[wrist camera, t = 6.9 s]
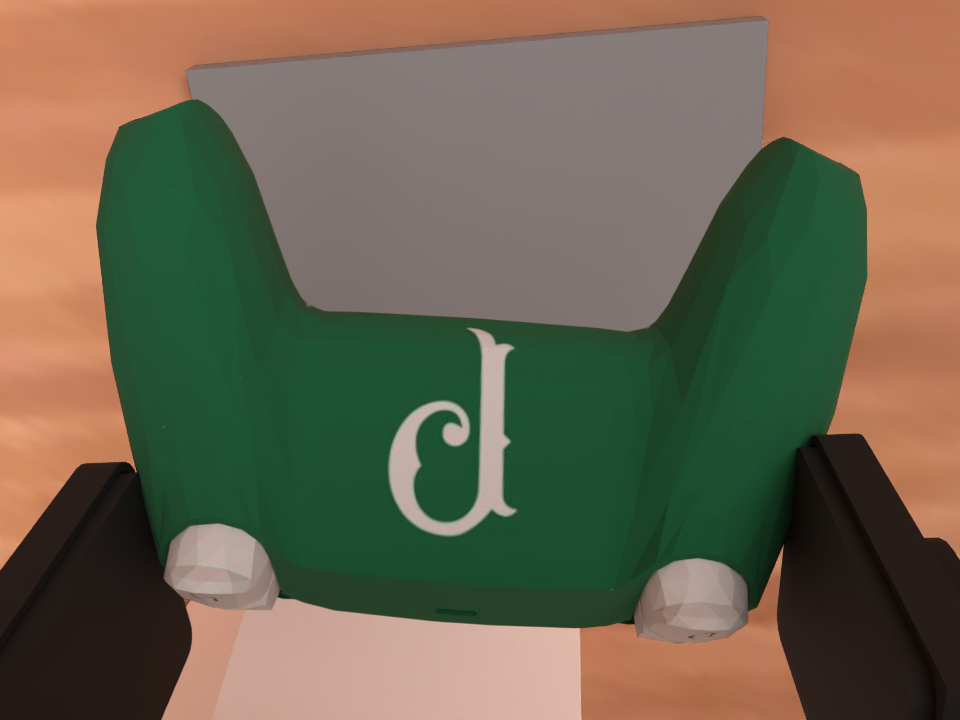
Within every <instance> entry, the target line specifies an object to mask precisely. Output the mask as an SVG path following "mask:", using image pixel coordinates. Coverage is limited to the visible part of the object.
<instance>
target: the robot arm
mask: <svg viewBox="0 0 960 720" xmlns="http://www.w3.org/2000/svg"><path fill="white" fill-rule="evenodd" d="M164 573H165V567H162V565H161V563H160V561H159V558H158V554H157V550H156V546H155V542H154V538H153V534H152V530H151V526H150V523H149V519H148V515H147V511H146V507H145V503H144V498H143V493H142V487H141V482H140V476H139V473H138V472H137V473H135V470H134V468H133V467H132V466H131V465H130V464H129V463H127V462H110V463H86V464H82V465H80V466H79V467H78V468H77V469H76V470H75V471H74V473H73V474H72V475H71V477H70V478H69V479H68V481H67V482H66V483H65V485H64V486H63V487H62V489H61V490H60V491H59V493H58V494H57V495H56V497H55V498H54V499H53V501H52V502H51V503H50V505H49V506H48V507H47V509H46V510H45V511H44V513H43V514H42V515H41V517H40V518H39V519H38V521H37V522H36V524H35V525H34V526H33V528H32V529H31V530H30V532H29V533H28V534H27V536H26V537H25V538H24V540H23V541H22V542H21V544H20V545H19V546H18V548H17V549H16V550H15V552H14V553H13V554H12V556H11V557H10V558H9V560H8V561H7V562H6V564H5V565H4V566H3V568H2V569H1V570H0V720H161V719H162V717H163V715H164V712H165V710H166V708H167V705H168V703H169V701H170V698H171V696H172V694H173V691H174V689H175V687H176V684H177V682H178V680H179V677H180V675H181V673H182V670H183V668H184V666H185V663H186V661H187V659H188V656H189V653H190V650H191V645H192V627H191V622H190V619H189V616H188V612H187V609H186V606H185V602H184V599H183V598H182V597H181V596H180V595H179V594H178V593H177V592H176V591H175V590H174V589H173V588H172V587H171V586H170V585H169V584H168V583H167V582H166V581H165V580H164ZM777 623H778V631H779V636H780V640H781V643H782V646H783V649H784V652H785V655H786V658H787V661H788V665H789V668H790V671H791V674H792V677H793V680H794V683H795V686H796V689H797V692H798V695H799V698H800V701H801V704H802V707H803V710H804V713H805V716H806V719H807V720H960V560H959V558H958V557H957V555H956V553H955V552H954V550H953V549H952V548H951V547H950V545H949V544H948V543H947V542H946V541H944V540H942V539H940V538H924V537H923V535H922V534H921V532H920V530H919V529H918V527H917V525H916V524H915V522H914V520H913V519H912V517H911V515H910V514H909V512H908V510H907V509H906V507H905V505H904V504H903V502H902V500H901V499H900V497H899V495H898V493H897V492H896V490H895V488H894V487H893V485H892V483H891V482H890V480H889V478H888V477H887V475H886V473H885V472H884V470H883V468H882V467H881V465H880V463H879V462H878V460H877V458H876V457H875V455H874V453H873V451H872V450H871V448H870V446H869V445H868V443H867V441H866V440H865V438H864V437H863V436H862V435H861V434H833V435H813V436H812V440H811V447H799V448H797V462H796V473H795V485H794V497H793V512H792V517H791V522H790V526H789V531H788V535H787V537H786V540H785V542H784V548H783V558H782V568H781V578H780V588H779V598H778V607H777Z"/></svg>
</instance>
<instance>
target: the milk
mask: <svg viewBox="0 0 960 720" xmlns="http://www.w3.org/2000/svg"><path fill="white" fill-rule="evenodd" d="M186 609H187V612H188V616H189V619H190V622H191V627H192V645H191V650H190V653H189V656H188V659H187V661H186V663H185V666H184V668H183V670H182V673H181V675H180V677H179V680H178V682H177V684H176V687H175V689H174V691H173V694H172V696H171V698H170V701H169V703H168V705H167V708H166V710H165V712H164V715H163V717H162V719H161V720H581V672H580V628H551V627H523V626H495V625H479V624H464V623H447V622H435V621H425V620H416V619H407V618H397V617H388V616H379V615H370V614H361V613H352V612H343V611H335V610H331V609H327V608H323V607H319V606H315V605H311V604H307V603H303V602H301V601H298V600H296V599H282V598H278V597H277V599H276V601H275V604H274V606H273V608H272V610H224V609H220V608H213V607H209V606H206V605H203V604H200V603H197V602H194V601H191V600H190V602H189V603H188V605H187V606H186Z"/></svg>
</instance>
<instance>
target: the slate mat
mask: <svg viewBox="0 0 960 720" xmlns="http://www.w3.org/2000/svg"><path fill="white" fill-rule="evenodd" d="M768 23H769V20H767V19H765V18H764V17H762V16H759V17H747V18H736V19H724V20H713V21H701V22H690V23H678V24H667V25H655V26H643V27H632V28H620V29H609V30H597V31H586V32H574V33H563V34H551V35H540V36H528V37H517V38H505V39H494V40H482V41H471V42H459V43H448V44H436V45H425V46H413V47H402V48H390V49H378V50H367V51H355V52H344V53H332V54H321V55H309V56H298V57H286V58H275V59H263V60H252V61H240V62H229V63H217V64H206V65H194V66H193V67H191V68H189V69H188V70H186V75H187V80H188V84H189V88H190V92H191V97H192V100H195V99H198V100H200V101H202V102H204V103H206V104H207V105H209V106H210V107H211V108H212V109H214V110H215V111H216V112H217V113H218V114H219V115H220V116H221V117H222V119H223V120H224V121H225V123H226V124H227V126H228V127H229V129H230V130H231V131H232V133H233V135H234V137H235V139H236V141H237V143H238V145H239V147H240V148H241V150H242V152H243V154H244V156H245V158H246V160H247V162H248V163H249V165H250V167H251V169H252V171H253V173H254V176H255V179H256V181H257V184H258V187H259V190H260V193H261V196H262V198H263V201H264V204H265V207H266V210H267V213H268V216H269V218H270V221H271V224H272V227H273V230H274V233H275V236H276V238H277V241H278V244H279V247H280V249H281V252H282V255H283V258H284V260H285V263H286V266H287V269H288V271H289V274H290V277H291V279H292V281H293V283H294V285H295V287H296V288H297V290H298V292H299V294H300V296H301V298H303V299H304V300H305V301H306V302H307V303H308V304H310V305H312V306H314V307H316V308H318V309H321V310H324V311H343V312H372V313H391V314H409V315H427V316H445V317H464V318H480V319H493V320H505V321H518V322H530V323H543V324H555V325H568V326H580V327H593V328H603V329H610V330H618V331H626V332H629V331H634V330H639V329H643V328H646V327H648V326H650V325H651V324H653V323H654V322H655V321H656V320H657V319H658V317H659V316H660V315H661V313H662V312H663V311H664V309H665V308H666V307H667V305H668V304H669V302H670V300H671V298H672V296H673V294H674V292H675V290H676V289H677V287H678V285H679V283H680V281H681V279H682V277H683V275H684V273H685V271H686V270H687V268H688V266H689V264H690V262H691V260H692V258H693V256H694V254H695V252H696V250H697V248H698V246H699V244H700V242H701V240H702V238H703V236H704V234H705V232H706V230H707V228H708V226H709V224H710V222H711V220H712V218H713V216H714V214H715V212H716V210H717V208H718V207H719V205H720V203H721V201H722V200H723V199H724V197H725V196H726V194H727V193H728V192H729V190H730V189H731V187H732V186H733V184H734V183H735V182H736V180H737V179H738V177H739V176H740V174H741V173H742V172H743V170H744V169H745V167H746V166H747V165H748V163H749V162H750V161H751V160H752V159H753V158H754V157H755V156H756V154H757V153H758V152H759V151H760V150H761V149H762V133H763V114H764V96H765V78H766V59H767V41H768Z"/></svg>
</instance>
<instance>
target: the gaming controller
mask: <svg viewBox="0 0 960 720" xmlns="http://www.w3.org/2000/svg"><path fill="white" fill-rule="evenodd" d="M96 230H97V239H98V248H99V257H100V266H101V275H102V284H103V293H104V302H105V311H106V320H107V329H108V337H109V346H110V355H111V363H112V367H113V372H114V376H115V381H116V385H117V389H118V394H119V398H120V403H121V407H122V411H123V416H124V420H125V425H126V429H127V434H128V438H129V442H130V447H131V451H132V455H133V459H134V463H135V467H136V471H137V472H138V473H139V476H140V482H141V487H142V493H143V498H144V503H145V507H146V511H147V515H148V519H149V523H150V526H151V530H152V534H153V538H154V542H155V546H156V550H157V554H158V558H159V561H160V563H161V565H162V567H165V573H164V580H165V581H166V582H167V583H168V584H169V585H170V586H171V587H172V588H173V589H174V590H175V591H176V592H177V593H178V594H179V595H180V596H181V597H182V598H185V599H188V600H191V601H194V602H197V603H200V604H203V605H206V606H209V607H213V608H220V609H224V610H272V608H273V606H274V604H275V601H276V599H277V597H278V598H282V599H296V600H298V601H301V602H303V603H307V604H311V605H315V606H319V607H323V608H327V609H331V610H335V611H343V612H352V613H361V614H370V615H379V616H388V617H397V618H407V619H416V620H425V621H435V622H447V623H464V624H479V625H495V626H523V627H551V628H586V627H598V626H608V625H612V624H615V623H622V624H629V625H630V624H635V627H636V632H637V637H642V638H648V639H654V640H660V641H665V642H671V643H687V642H689V643H699V642H705V641H711V640H717V639H723V638H728V637H729V636H731V635H732V634H733V633H735V632H736V631H738V630H739V629H740V628H742V627H744V626H745V625H746V624H747V623H748V611H750V610H752V609H754V608H757V607H758V604H759V602H760V599H761V597H762V595H763V592H764V590H765V587H766V585H767V583H768V580H769V578H770V575H771V573H772V571H773V568H774V566H775V563H776V561H777V559H778V556H779V554H780V552H781V549H782V547H783V544H784V542H785V540H786V537H787V535H788V531H789V526H790V522H791V517H792V512H793V497H794V485H795V473H796V462H797V448H799V447H811V440H812V436H813V435H827V432H828V430H829V427H830V424H831V421H832V419H833V416H834V413H835V410H836V405H837V401H838V397H839V393H840V389H841V385H842V380H843V376H844V372H845V368H846V364H847V360H848V355H849V351H850V347H851V343H852V339H853V335H854V331H855V326H856V322H857V318H858V314H859V310H860V306H861V301H862V297H863V293H864V289H865V285H866V281H867V209H866V204H865V199H864V195H863V190H862V186H861V181H860V176H859V175H858V174H857V173H856V172H855V171H853V170H851V169H850V168H848V167H846V166H844V165H843V164H841V163H837V162H835V161H833V160H831V159H829V158H827V157H825V156H823V155H821V154H819V153H817V152H815V151H813V150H811V149H809V148H807V147H805V146H804V145H802V144H800V143H798V142H796V141H794V140H792V139H789V138H785V137H782V138H780V139H777V140H775V141H773V142H771V143H770V144H768V145H767V146H765V147H764V148H763V149H761V150H760V151H759V152H758V153H757V154H756V156H755V157H754V158H753V159H752V160H751V161H750V162H749V163H748V165H747V166H746V167H745V169H744V170H743V172H742V173H741V174H740V176H739V177H738V179H737V180H736V182H735V183H734V184H733V186H732V187H731V189H730V190H729V192H728V193H727V194H726V196H725V197H724V199H723V200H722V201H721V203H720V205H719V207H718V208H717V210H716V212H715V214H714V216H713V218H712V220H711V222H710V224H709V226H708V228H707V230H706V232H705V234H704V236H703V238H702V240H701V242H700V244H699V246H698V248H697V250H696V252H695V254H694V256H693V258H692V260H691V262H690V264H689V266H688V268H687V270H686V271H685V273H684V275H683V277H682V279H681V281H680V283H679V285H678V287H677V289H676V290H675V292H674V294H673V296H672V298H671V300H670V302H669V304H668V305H667V307H666V308H665V309H664V311H663V312H662V313H661V315H660V316H659V317H658V319H657V320H656V321H655V322H654V323H653V324H651V325H650V326H648V327H646V328H643V329H639V330H634V331H629V332H626V331H618V330H610V329H603V328H593V327H580V326H568V325H555V324H543V323H530V322H518V321H505V320H493V319H480V318H464V317H445V316H427V315H409V314H391V313H372V312H343V311H324V310H321V309H318V308H316V307H314V306H312V305H310V304H308V303H307V302H306V301H305V300H304V299H303V298H301V296H300V294H299V292H298V290H297V288H296V287H295V285H294V283H293V281H292V279H291V277H290V274H289V271H288V269H287V266H286V263H285V260H284V258H283V255H282V252H281V249H280V247H279V244H278V241H277V238H276V236H275V233H274V230H273V227H272V224H271V221H270V218H269V216H268V213H267V210H266V207H265V204H264V201H263V198H262V196H261V193H260V190H259V187H258V184H257V181H256V179H255V176H254V173H253V171H252V169H251V167H250V165H249V163H248V162H247V160H246V158H245V156H244V154H243V152H242V150H241V148H240V147H239V145H238V143H237V141H236V139H235V137H234V135H233V133H232V131H231V130H230V129H229V127H228V126H227V124H226V123H225V121H224V120H223V119H222V117H221V116H220V115H219V114H218V113H217V112H216V111H215V110H214V109H212V108H211V107H210V106H209V105H207V104H206V103H204V102H202V101H200V100H198V99H195V100H188V101H185V102H182V103H179V104H177V105H174V106H172V107H169V108H167V109H164V110H161V111H159V112H156V113H154V114H151V115H148V116H146V117H143V118H139V119H135V120H133V121H131V122H128V123H126V124H124V125H122V126H120V127H119V129H118V131H117V134H116V136H115V139H114V141H113V144H112V146H111V148H110V151H109V153H108V156H107V158H106V164H105V170H104V177H103V183H102V190H101V196H100V203H99V209H98V216H97V222H96Z"/></svg>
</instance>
